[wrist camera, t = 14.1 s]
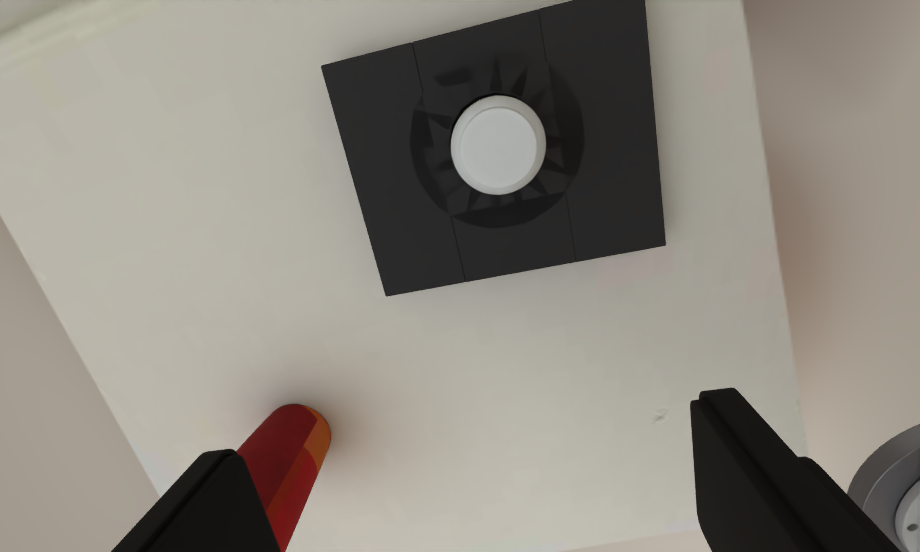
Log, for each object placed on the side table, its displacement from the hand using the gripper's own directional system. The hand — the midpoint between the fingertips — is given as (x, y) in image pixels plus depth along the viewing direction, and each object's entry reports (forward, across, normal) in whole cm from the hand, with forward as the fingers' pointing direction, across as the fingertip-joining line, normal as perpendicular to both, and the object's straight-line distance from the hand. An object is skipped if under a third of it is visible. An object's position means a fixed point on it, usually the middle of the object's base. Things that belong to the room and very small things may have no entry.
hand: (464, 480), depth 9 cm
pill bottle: (+26, -2, -6) cm, 27 cm away
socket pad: (+26, -1, -5) cm, 26 cm away
